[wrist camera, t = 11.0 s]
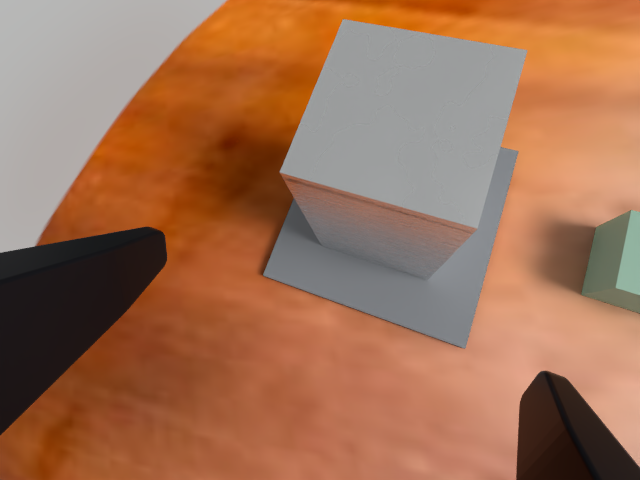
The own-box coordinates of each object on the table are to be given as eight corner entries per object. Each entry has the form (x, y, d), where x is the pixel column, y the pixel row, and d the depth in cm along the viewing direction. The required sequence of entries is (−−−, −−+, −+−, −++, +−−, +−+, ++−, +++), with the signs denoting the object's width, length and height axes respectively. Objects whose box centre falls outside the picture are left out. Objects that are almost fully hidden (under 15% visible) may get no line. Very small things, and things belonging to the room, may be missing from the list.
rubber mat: (463, 348, 19) (465, 348, 19) (265, 276, 22) (262, 275, 21) (515, 155, 21) (518, 151, 21) (330, 112, 24) (330, 107, 24)
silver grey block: (427, 280, 20) (477, 228, 10) (321, 245, 21) (279, 172, 12) (458, 179, 21) (527, 50, 12) (356, 153, 23) (343, 19, 13)
